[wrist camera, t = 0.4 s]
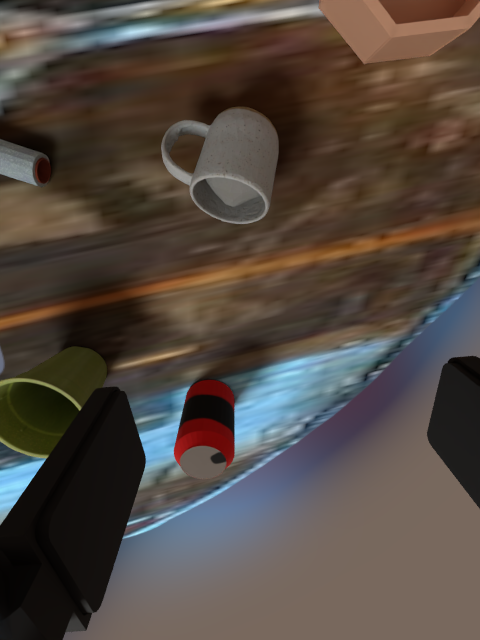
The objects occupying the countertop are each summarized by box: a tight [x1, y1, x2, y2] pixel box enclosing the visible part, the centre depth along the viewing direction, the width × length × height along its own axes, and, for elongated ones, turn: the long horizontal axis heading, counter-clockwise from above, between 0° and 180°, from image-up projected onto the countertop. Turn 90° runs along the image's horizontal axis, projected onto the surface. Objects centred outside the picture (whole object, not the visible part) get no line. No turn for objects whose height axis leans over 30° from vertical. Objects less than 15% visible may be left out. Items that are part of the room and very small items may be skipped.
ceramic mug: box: [161, 107, 279, 224], centre depth 28 cm, size 11×8×8 cm
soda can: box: [174, 380, 234, 479], centre depth 41 cm, size 8×8×12 cm
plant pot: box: [0, 346, 107, 458], centre depth 38 cm, size 12×12×11 cm
